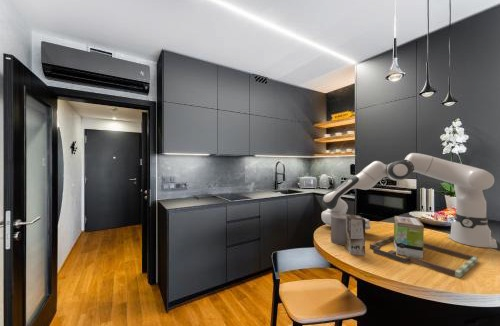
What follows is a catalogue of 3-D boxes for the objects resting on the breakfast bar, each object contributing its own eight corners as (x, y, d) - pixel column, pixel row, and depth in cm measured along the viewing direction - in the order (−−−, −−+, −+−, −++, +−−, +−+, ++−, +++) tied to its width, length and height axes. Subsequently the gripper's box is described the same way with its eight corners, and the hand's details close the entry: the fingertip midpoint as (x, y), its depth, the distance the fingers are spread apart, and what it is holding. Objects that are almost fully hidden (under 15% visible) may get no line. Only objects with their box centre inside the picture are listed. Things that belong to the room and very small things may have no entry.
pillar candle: (338, 237, 121) (338, 210, 121) (354, 242, 113) (355, 213, 113) (327, 240, 116) (327, 212, 116) (343, 246, 108) (344, 216, 108)
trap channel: (393, 238, 120) (393, 235, 120) (477, 261, 92) (477, 257, 92) (365, 249, 104) (365, 245, 104) (456, 281, 77) (456, 275, 77)
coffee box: (365, 255, 98) (365, 219, 98) (350, 254, 99) (350, 219, 99) (359, 248, 107) (359, 214, 106) (345, 246, 108) (345, 214, 108)
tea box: (424, 259, 94) (424, 225, 94) (396, 254, 99) (396, 222, 99) (417, 247, 108) (417, 217, 108) (393, 243, 112) (393, 215, 112)
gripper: (334, 219, 125) (357, 224, 113) (355, 214, 136) (378, 219, 124) (334, 230, 125) (358, 237, 113) (355, 224, 136) (378, 230, 124)
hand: (368, 227), depth 119 cm, fingers closed
